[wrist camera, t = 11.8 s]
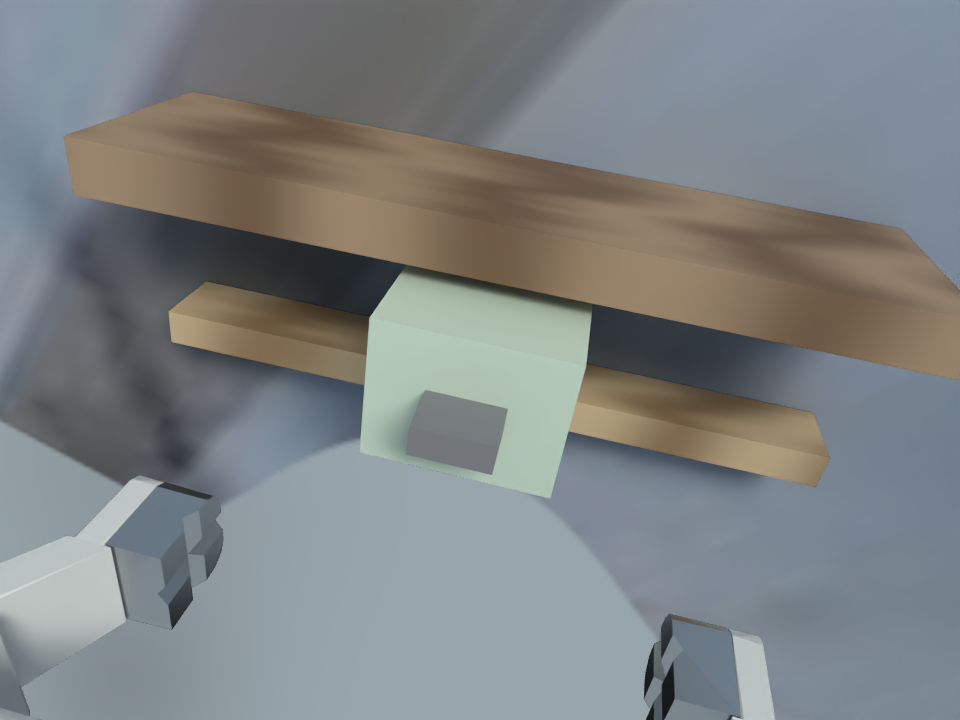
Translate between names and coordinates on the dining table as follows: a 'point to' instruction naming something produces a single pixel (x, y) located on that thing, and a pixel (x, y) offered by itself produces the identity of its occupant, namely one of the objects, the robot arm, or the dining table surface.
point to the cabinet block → (473, 378)
